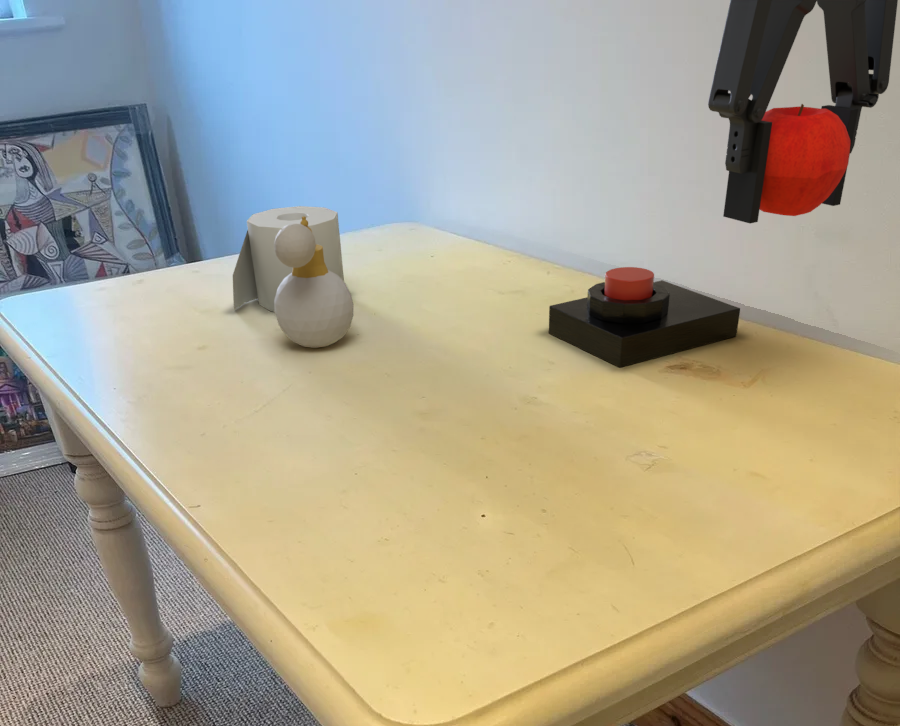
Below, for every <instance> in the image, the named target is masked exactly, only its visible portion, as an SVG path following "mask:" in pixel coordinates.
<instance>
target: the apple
mask: <svg viewBox="0 0 900 726" xmlns="http://www.w3.org/2000/svg"><path fill="white" fill-rule="evenodd" d="M761 121H768V122H772V128H771V135H770V142H769V149H768V155H767V162H766V169H765V176H764V182H763V189H762V196H761V203H760V209H759V211H761V212H763V213H768V214H773V215H774V214H775V215H780V216H789V217H797V216H801V215H805V214H809V213H811V212H813V211H814V210H815V209H817V208H818V207H820V206H821V205H823V204H822V203H823V202H824V201H825V200H826V199H827V198H828V197H829V196H830V195H831V193H832V192H833V191H834V189H835V188H836V186H837V185H838V184H839V182H840V180H841V178H842V177H843V175H844V173H845V171H846V169H847V170H848V166H849V160H850V156H849V153H850V138H849V135H848V132H847V129H846V127H845V125H844V124H843V122H842V121H841V119H840V118H839V117H838V115H836V114H835V113H833V112H831V111H830V110H828V109H821V108H818V107H811V106H810V107H809V106H805V105H804V104H803V103H801V104H800V106H789V107H787V106H785V107H773V108H771V109H769V110H768V109H767V110H766V112H765V114H764V117H763V119H762V120H761ZM850 154H851V153H850ZM846 172H847V171H846Z"/></svg>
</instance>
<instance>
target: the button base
mask: <svg viewBox="0 0 900 726" xmlns="http://www.w3.org/2000/svg"><path fill="white" fill-rule="evenodd" d="M604 290H605V281H604V282H603V281H602V282H598V283H595V284H594V285H592V286H591V287H589V288H588V289H587V297H583V298H577V299H573V300H568V301H565V302H561V303H555V304H552V305H551V304H550V305H549V309H548V310H549V311H548V334H550V335H552V336H553V337H555V338H558V339H559V340H562V341H564V342H565V343H568V344H570V345H572V346H575V347H576V348H577V349H580V350H583V351H585V352H586V353H589V354H591V355H593V356H595V357H597V358H599V359H601V360H603V361H605V362H606V363H607V362H608V363H610V364H612V365H614V366H616V367H618V368H624V367H627V366H630V365H634V364H637V363H642V362H646V361H650V360H652V359H658V358H660V357H664V356H668V355H672V354H675V353H679V352H683V351H686V350H691V349H694V348H698V347H702V346H705V345H709V344H713V343H716V342H720V341H724V340H727V339H731V338H736V337H737V335H738V327H739V320H740V315H741V308H740V307H738V306H735V305H732V304H730V303H727V302H724V301H721V300H718V299H715V298H713V297H710V296H708V295H704V294H701V293H699V292H696V291H693V290H690V289H688V288H685V287H683V286H679V285H676V284H673V283H671V282H668V281H666V280H658V281H654V283H653V294H652V297H650V298H646V299H642V300H620V299H612V298H610V297H607V296H605V295H604Z"/></svg>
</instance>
